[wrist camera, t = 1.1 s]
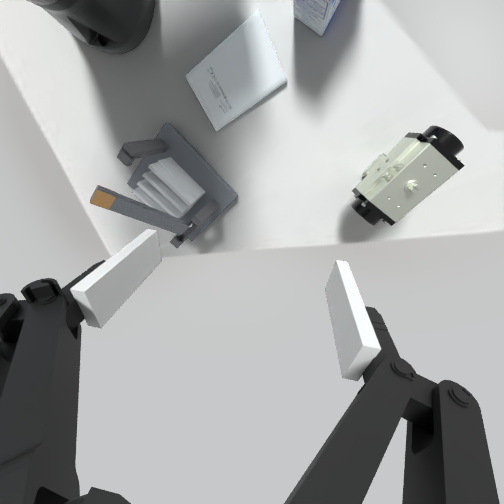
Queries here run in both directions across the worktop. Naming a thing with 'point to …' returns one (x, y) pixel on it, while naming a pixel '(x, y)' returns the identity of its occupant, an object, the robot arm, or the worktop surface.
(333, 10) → the medicine box
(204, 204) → the heatsink base
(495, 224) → the worktop surface
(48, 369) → the robot arm
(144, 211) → the lever
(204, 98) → the external hard drive
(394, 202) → the pneumatic valve
